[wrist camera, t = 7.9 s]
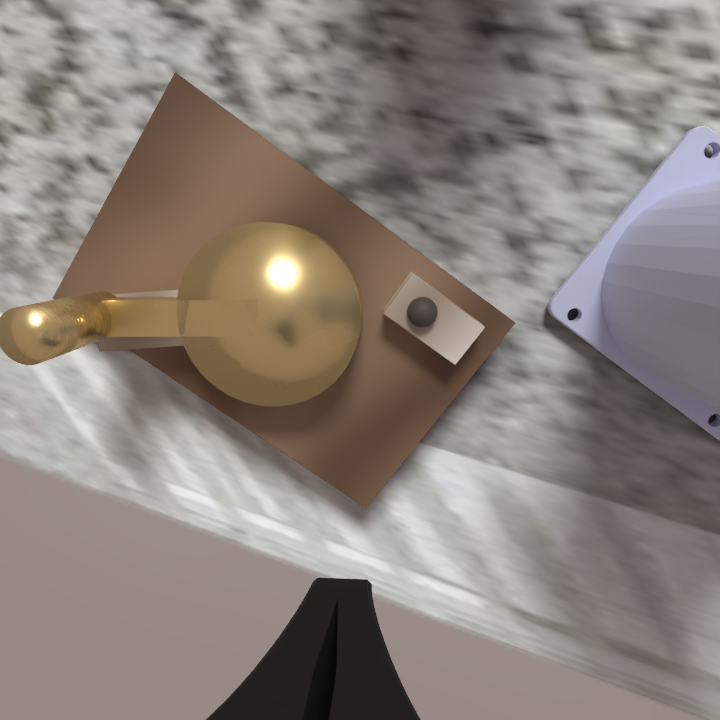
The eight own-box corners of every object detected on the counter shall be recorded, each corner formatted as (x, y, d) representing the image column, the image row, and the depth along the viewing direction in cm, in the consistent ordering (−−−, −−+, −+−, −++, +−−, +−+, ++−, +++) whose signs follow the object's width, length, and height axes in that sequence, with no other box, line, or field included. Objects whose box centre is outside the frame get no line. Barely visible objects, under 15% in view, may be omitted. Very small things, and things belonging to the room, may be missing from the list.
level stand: (503, 314, 20) (527, 331, 16) (359, 494, 22) (353, 543, 19) (197, 89, 19) (153, 55, 15) (77, 304, 21) (14, 319, 17)
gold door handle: (362, 221, 17) (352, 217, 13) (363, 393, 19) (356, 442, 14) (78, 225, 18) (-25, 222, 13) (101, 392, 19) (15, 438, 15)
